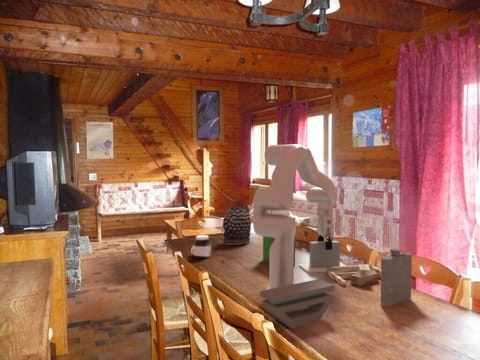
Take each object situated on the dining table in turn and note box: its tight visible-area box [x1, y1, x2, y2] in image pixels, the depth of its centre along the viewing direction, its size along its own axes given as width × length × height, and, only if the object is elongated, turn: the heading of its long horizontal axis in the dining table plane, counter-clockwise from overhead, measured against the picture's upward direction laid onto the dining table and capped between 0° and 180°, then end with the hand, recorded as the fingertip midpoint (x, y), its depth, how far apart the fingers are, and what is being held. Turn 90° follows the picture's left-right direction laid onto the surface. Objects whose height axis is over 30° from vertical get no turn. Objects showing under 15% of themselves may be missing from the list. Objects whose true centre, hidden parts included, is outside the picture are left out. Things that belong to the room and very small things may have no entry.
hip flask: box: [380, 247, 413, 308], centre depth 147 cm, size 16×4×20 cm, turn 123°
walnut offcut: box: [350, 271, 379, 287], centre depth 170 cm, size 5×12×4 cm, turn 125°
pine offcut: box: [358, 263, 371, 277], centre depth 170 cm, size 4×9×3 cm, turn 169°
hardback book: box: [262, 217, 296, 266], centre depth 203 cm, size 18×7×24 cm, turn 31°
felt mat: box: [298, 261, 347, 274], centre depth 193 cm, size 12×22×1 cm, turn 100°
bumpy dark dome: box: [222, 204, 252, 246], centre depth 250 cm, size 21×15×25 cm
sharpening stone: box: [259, 278, 336, 329], centre depth 131 cm, size 25×8×11 cm, turn 120°
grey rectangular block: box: [309, 240, 341, 268], centre depth 192 cm, size 4×14×12 cm, turn 100°
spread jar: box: [190, 234, 212, 260], centre depth 216 cm, size 12×11×12 cm
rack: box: [326, 264, 381, 287], centre depth 176 cm, size 17×22×4 cm
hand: (324, 247), depth 192 cm, fingers open, 9 cm apart
